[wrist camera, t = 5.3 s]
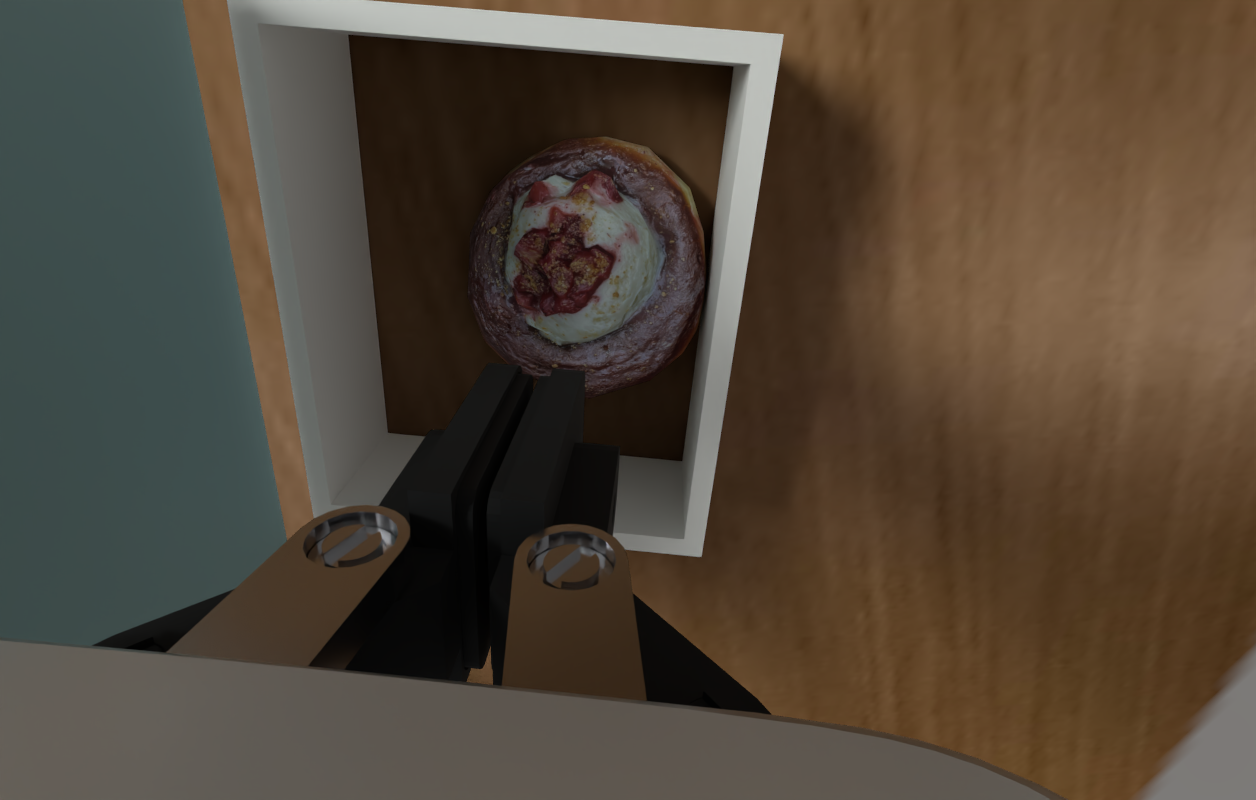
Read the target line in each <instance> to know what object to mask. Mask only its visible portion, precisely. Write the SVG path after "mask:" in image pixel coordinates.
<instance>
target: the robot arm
mask: <svg viewBox="0 0 1256 800" xmlns="http://www.w3.org/2000/svg"><path fill="white" fill-rule="evenodd" d="M584 401H585V371H578V370H566V369H555V368H554V369H553V370H552V373H551V375H550V376H542V375H541V376H540V378H539V380H538V382H537V384H536V387H535V389H534V391H533V377H532V375H530V374H523V373H522V368H521V366H520V365H509V364H498V363H488V364H487V366H486V367H485V369H484V370H483V372H482V373H481V375H480V377H479V378H478V380H477V381H476V383H475V384H474V386H473V388H472V389H471V391H470V392H469V394H468V395H467V397H466V398H465V400H464V402H463V403H462V405H461V406H460V408H459V409H458V411H457V413H456V414H455V416H454V417H453V419H452V420H451V422H450V424H449V425H448V427H447V428H446V430H436V429H434V430H431V431H430V432H429V433H428V434H427V435H426V436H425V438H424V439H423V441H422V442H421V444H420V445H419V447H418V448H417V450H416V451H415V452H414V454H413V455H412V457H411V458H410V460H409V461H408V463H407V464H406V466H405V467H404V469H403V470H402V472H401V473H400V474H399V476H398V477H397V479H396V480H395V482H394V483H393V485H392V486H391V488H390V489H389V491H388V492H387V494H386V495H385V496H384V498H383V499H382V501H381V502H380V504H379V505H378V506H373V505H359V506H348V507H344V508H340V509H336V510H332V511H329V512H327V513H325V514H323V515H321V516H318V517H316V518H314V519H313V520H311V521H310V522H308V523H307V524H306V525H304V526H303V527H302V528H300V529H299V530H298V531H297V532H296V533H295V534H294V535H293V536H292V537H291V538H289V539H288V540H287V541H286V542H285V543H284V544H283V545H282V546H281V547H280V548H279V549H278V550H277V551H275V552H274V553H273V554H272V555H271V556H270V557H269V558H268V559H267V560H266V561H265V562H264V563H262V564H261V565H260V566H259V567H258V568H257V569H256V570H255V571H254V572H253V573H252V574H251V575H249V576H248V577H247V578H246V579H245V580H244V581H243V582H242V583H241V584H240V585H239V586H238V587H236V588H235V589H233V590H230V591H228V592H225V593H222V594H220V595H217V596H215V597H212V598H209V599H207V600H204V601H202V602H199V603H196V604H194V605H191V606H188V607H186V608H183V609H181V610H178V611H175V612H173V613H170V614H168V615H165V616H162V617H160V618H157V619H155V620H152V621H149V622H147V623H144V624H141V625H139V626H136V627H134V628H131V629H128V630H126V631H123V632H121V633H118V634H115V635H113V636H111V637H109V638H107V639H104V640H102V641H100V642H98V643H96V644H94V645H92V646H89V645H78V644H67V643H57V642H46V641H35V640H25V639H14V638H3V637H0V800H1067V799H1066V798H1064V797H1062V796H1060V795H1058V794H1056V793H1054V792H1052V791H1050V790H1048V789H1047V788H1045V787H1043V786H1041V785H1039V784H1037V783H1034V782H1032V781H1030V780H1027V779H1025V778H1023V777H1020V776H1018V775H1016V774H1013V773H1011V772H1009V771H1006V770H1004V769H1002V768H999V767H997V766H995V765H992V764H990V763H988V762H985V761H983V760H981V759H978V758H976V757H972V756H969V755H966V754H963V753H959V752H956V751H953V750H950V749H947V748H943V747H940V746H937V745H934V744H930V743H927V742H924V741H921V740H917V739H913V738H908V737H903V736H899V735H894V734H889V733H885V732H880V731H875V730H871V729H866V728H862V727H855V726H847V725H840V724H833V723H825V722H818V721H811V720H804V719H797V718H790V717H783V716H776V715H771V713H770V712H769V711H768V710H767V709H766V708H765V707H764V706H763V705H762V704H761V702H760V701H759V700H758V699H757V698H756V697H754V696H753V695H752V694H751V693H750V692H749V691H747V690H746V689H745V688H744V687H743V686H742V685H740V684H739V683H738V682H737V681H736V680H734V679H733V678H732V677H731V676H730V675H729V674H727V673H726V672H725V671H724V670H723V669H721V668H720V667H719V666H718V665H717V664H716V663H714V662H713V661H712V660H711V659H710V658H709V657H707V656H706V655H705V654H704V653H703V652H701V651H700V650H699V649H698V648H697V647H696V646H694V645H693V644H692V643H691V642H690V641H688V640H687V639H686V638H685V637H684V636H683V635H681V634H680V633H679V632H678V631H677V630H676V629H674V628H673V627H672V626H671V625H670V624H668V623H667V622H666V621H665V620H664V619H663V618H661V617H660V616H659V615H658V614H657V613H655V612H654V611H653V610H652V609H651V608H650V607H648V606H647V605H646V604H645V603H644V602H643V601H641V600H640V599H639V598H638V597H637V596H635V595H634V594H633V592H632V585H631V577H630V570H629V562H628V557H627V554H626V552H625V549H624V547H623V546H622V545H621V544H620V543H619V541H618V540H617V539H616V538H615V537H613V530H614V521H615V511H616V500H617V488H618V474H619V460H620V446H614V445H603V444H592V443H583V425H584ZM490 646H491V665H492V670H493V685H489V684H479V683H470V682H467V679H468V676H469V673H470V670H471V668H476V669H482V668H483V666H484V664H485V661H486V658H487V655H488V652H489V649H490Z"/></svg>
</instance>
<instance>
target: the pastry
mask: <svg viewBox="0 0 1256 800" xmlns="http://www.w3.org/2000/svg"><path fill="white" fill-rule="evenodd" d="M705 284H706V255H705V243H704V232H703V228H702V225H701V222H700V219H699V216H698V212H697V209H696V206H695V203H694V200H693V196H692V193H691V190H690V188H689V187H688V186H687V185H686V184H685V183H684V182H683V181H682V180H681V179H680V178H679V177H678V176H677V175H676V174H675V173H674V172H673V171H672V170H671V169H670V168H669V167H668V166H667V165H666V164H665V163H664V162H663V161H662V160H661V159H660V158H659V157H658V156H657V155H656V154H655V153H654V152H653V151H652V150H651V149H650V148H649V147H646V146H642V145H638V144H634V143H630V142H626V141H622V140H618V139H614V138H610V137H591V138H576V139H565V140H563V141H560V142H558V143H556V144H554V145H552V146H550V147H548V148H546V149H544V150H542V151H539V152H537V153H535V154H533V155H532V156H531V157H529V158H528V159H526V160H525V161H523V162H522V163H520V164H519V165H517V166H516V167H515V168H513V169H512V170H511V171H510V172H509V173H508V174H507V175H506V176H505V177H504V178H503V179H502V180H501V181H500V182H499V183H498V184H497V185H496V186H495V187H494V188H493V189H492V190H491V191H490V194H489V196H488V198H487V200H486V202H485V204H484V206H483V208H482V210H481V212H480V214H479V216H478V218H477V220H476V222H475V224H474V226H473V229H472V231H471V233H470V250H469V273H468V299H469V302H470V304H471V307H472V309H473V312H474V315H475V317H476V320H477V322H478V325H479V328H480V330H481V333H482V336H483V338H484V341H485V342H486V343H487V344H488V345H489V346H490V347H491V348H492V349H493V350H494V351H495V352H496V353H497V354H498V355H499V356H500V357H501V358H502V359H503V360H504V361H505V362H506V363H507V364H509V365H520V366H521V368H522V373H523V374H530V375H532V377H533V379H536V380H539V378H540V376H541V375H542V376H550V375H551V373H552V370H553V369H554V368H555V369H566V370H578V371H585V397H586V398H588V399H590V398H593V397H596V396H599V395H603V394H606V393H609V392H613V391H616V390H619V389H623V388H626V387H629V386H633V385H636V384H639V383H643V382H646V381H649V380H651V379H652V378H653V377H654V376H656V375H657V374H658V373H659V372H660V371H662V370H663V369H664V368H665V367H667V366H668V365H669V364H670V363H671V362H673V361H674V360H675V359H676V358H677V357H679V356H680V355H681V354H682V353H683V352H684V351H685V349H686V347H687V346H688V344H689V342H690V341H691V339H692V337H693V336H694V334H695V332H696V331H697V329H698V324H699V320H700V315H701V311H702V306H703V302H704V298H705Z"/></svg>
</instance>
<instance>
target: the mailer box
mask: <svg viewBox="0 0 1256 800" xmlns="http://www.w3.org/2000/svg"><path fill="white" fill-rule="evenodd" d="M227 4H228V10H229V16H230V22H231V28H232V34H233V40H234V46H235V52H236V58H237V64H238V70H239V75H240V81H241V87H242V93H243V99H244V105H245V111H246V117H247V123H248V129H249V135H250V141H251V147H252V153H253V159H254V165H255V171H256V177H257V183H258V189H259V194H260V200H261V206H262V212H263V218H264V224H265V230H266V236H267V242H268V248H269V254H270V260H271V266H272V272H273V278H274V284H275V290H276V296H277V302H278V307H279V313H280V319H281V325H282V331H283V337H284V343H285V349H286V355H287V361H288V367H289V373H290V379H291V385H292V391H293V397H294V403H295V409H296V415H297V420H298V426H299V432H300V438H301V444H302V450H303V456H304V462H305V468H306V474H307V480H308V486H309V492H310V498H311V504H312V510H313V516H314V518H316V517H318V516H321V515H323V514H325V513H327V512H329V511H332V510H336V509H340V508H344V507H348V506H359V505H373V506H378V505H379V504H380V502H381V501H382V499H383V498H384V496H385V495H386V494H387V492H388V491H389V489H390V488H391V486H392V485H393V483H394V482H395V480H396V479H397V477H398V476H399V474H400V473H401V472H402V470H403V469H404V467H405V466H406V464H407V463H408V461H409V460H410V458H411V457H412V455H413V454H414V452H415V451H416V450H417V448H418V447H419V445H420V444H421V442H422V441H423V439H424V438H425V436H415V435H404V434H394V433H388V429H387V419H386V409H385V399H384V389H383V379H382V369H381V359H380V349H379V339H378V329H377V319H376V309H375V299H374V289H373V279H372V269H371V259H370V249H369V239H368V229H367V219H366V209H365V199H364V189H363V179H362V169H361V159H360V149H359V139H358V129H357V119H356V109H355V99H354V89H353V79H352V69H351V59H350V49H349V39H348V35H361V36H373V37H385V38H397V39H409V40H421V41H433V42H445V43H457V44H469V45H481V46H493V47H505V48H518V49H530V50H542V51H554V52H566V53H578V54H590V55H602V56H614V57H626V58H638V59H650V60H663V61H675V62H687V63H699V64H711V65H723V66H734V68H733V76H732V83H731V91H730V99H729V106H728V114H727V122H726V130H725V137H724V145H723V153H722V160H721V168H720V176H719V183H718V191H717V199H716V206H715V214H714V222H713V229H712V237H711V245H710V252H709V260H708V268H707V275H706V284H705V298H704V302H703V306H702V314H701V322H700V329H699V337H698V345H697V352H696V360H695V368H694V375H693V383H692V391H691V398H690V406H689V414H688V421H687V429H686V437H685V445H684V452H683V460H682V461H674V460H664V459H653V458H643V457H633V456H622V455H620V460H619V474H618V488H617V500H616V511H615V521H614V530H613V537H615V538H616V539H617V540H618V541H619V543H620V544H621V545H622V546H623V547H624V549H625V550H634V551H644V552H654V553H664V554H674V555H684V556H694V557H702V551H703V544H704V538H705V532H706V525H707V519H708V513H709V506H710V500H711V493H712V487H713V481H714V474H715V468H716V462H717V455H718V449H719V443H720V436H721V430H722V423H723V417H724V411H725V404H726V398H727V392H728V385H729V379H730V373H731V366H732V360H733V354H734V347H735V341H736V334H737V328H738V322H739V315H740V309H741V303H742V296H743V290H744V284H745V277H746V271H747V264H748V258H749V252H750V245H751V239H752V233H753V226H754V220H755V214H756V207H757V201H758V194H759V188H760V182H761V175H762V169H763V163H764V156H765V150H766V144H767V137H768V131H769V124H770V118H771V112H772V105H773V99H774V93H775V86H776V80H777V74H778V67H779V61H780V54H781V48H782V42H783V35H784V34H772V33H760V32H748V31H736V30H723V29H711V28H699V27H687V26H674V25H662V24H650V23H638V22H625V21H613V20H601V19H589V18H576V17H564V16H552V15H539V14H527V13H515V12H503V11H490V10H478V9H466V8H454V7H441V6H429V5H417V4H405V3H392V2H380V1H368V0H227Z"/></svg>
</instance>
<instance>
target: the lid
mask: <svg viewBox="0 0 1256 800" xmlns="http://www.w3.org/2000/svg"><path fill="white" fill-rule="evenodd" d="M286 541H287V538H286V533H285V528H284V523H283V517H282V512H281V507H280V502H279V497H278V492H277V486H276V481H275V476H274V471H273V466H272V461H271V455H270V450H269V445H268V440H267V435H266V430H265V425H264V419H263V414H262V409H261V404H260V399H259V394H258V388H257V383H256V378H255V373H254V368H253V363H252V358H251V352H250V347H249V342H248V337H247V332H246V327H245V321H244V316H243V311H242V306H241V301H240V296H239V290H238V285H237V280H236V275H235V270H234V265H233V260H232V254H231V249H230V244H229V239H228V234H227V229H226V223H225V218H224V213H223V208H222V203H221V198H220V193H219V187H218V182H217V177H216V172H215V167H214V162H213V156H212V151H211V146H210V141H209V136H208V131H207V126H206V120H205V115H204V110H203V105H202V100H201V95H200V89H199V84H198V79H197V74H196V69H195V64H194V58H193V53H192V48H191V43H190V38H189V33H188V28H187V22H186V17H185V12H184V7H183V2H182V0H0V637H3V638H14V639H25V640H35V641H46V642H57V643H67V644H78V645H89V646H92V645H94V644H96V643H98V642H100V641H102V640H104V639H107V638H109V637H111V636H113V635H115V634H118V633H121V632H123V631H126V630H128V629H131V628H134V627H136V626H139V625H141V624H144V623H147V622H149V621H152V620H155V619H157V618H160V617H162V616H165V615H168V614H170V613H173V612H175V611H178V610H181V609H183V608H186V607H188V606H191V605H194V604H196V603H199V602H202V601H204V600H207V599H209V598H212V597H215V596H217V595H220V594H222V593H225V592H228V591H230V590H233V589H235V588H236V587H238V586H239V585H240V584H241V583H242V582H243V581H244V580H245V579H246V578H247V577H248V576H249V575H251V574H252V573H253V572H254V571H255V570H256V569H257V568H258V567H259V566H260V565H261V564H262V563H264V562H265V561H266V560H267V559H268V558H269V557H270V556H271V555H272V554H273V553H274V552H275V551H277V550H278V549H279V548H280V547H281V546H282V545H283V544H284V543H285V542H286Z"/></svg>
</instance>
